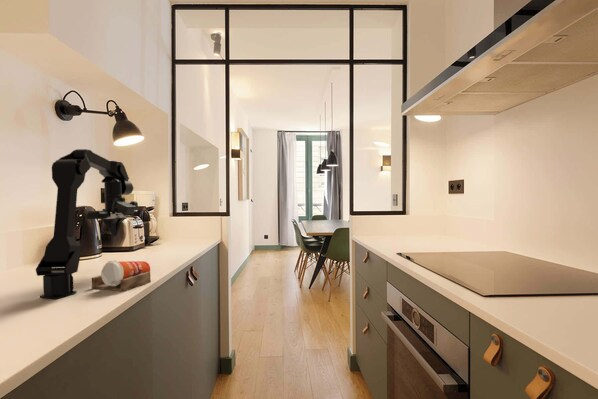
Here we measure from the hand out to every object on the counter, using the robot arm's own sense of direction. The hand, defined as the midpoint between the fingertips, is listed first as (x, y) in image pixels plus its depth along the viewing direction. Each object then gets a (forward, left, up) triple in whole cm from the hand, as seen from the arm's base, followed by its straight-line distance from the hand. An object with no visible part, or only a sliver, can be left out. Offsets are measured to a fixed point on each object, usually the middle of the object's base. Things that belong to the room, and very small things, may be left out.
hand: (114, 236), depth 131 cm
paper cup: (-8, -20, -10) cm, 24 cm away
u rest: (-16, -19, -13) cm, 28 cm away
